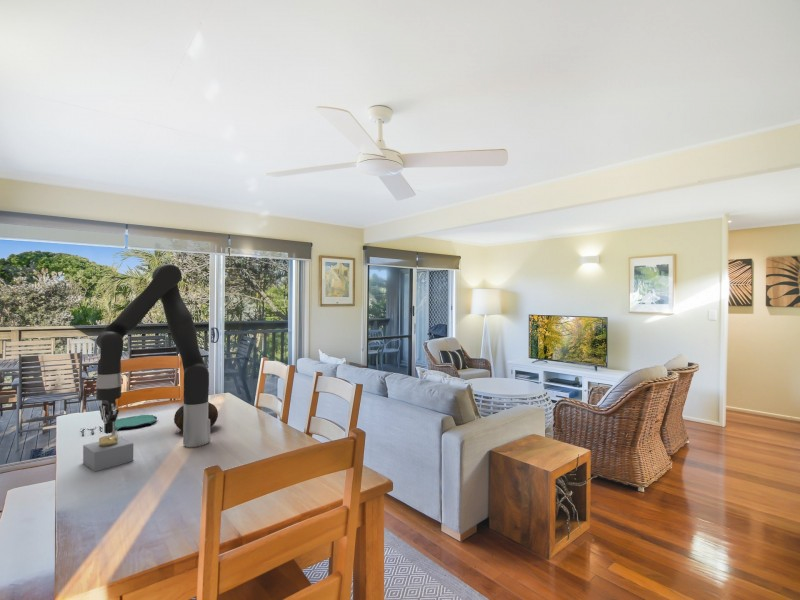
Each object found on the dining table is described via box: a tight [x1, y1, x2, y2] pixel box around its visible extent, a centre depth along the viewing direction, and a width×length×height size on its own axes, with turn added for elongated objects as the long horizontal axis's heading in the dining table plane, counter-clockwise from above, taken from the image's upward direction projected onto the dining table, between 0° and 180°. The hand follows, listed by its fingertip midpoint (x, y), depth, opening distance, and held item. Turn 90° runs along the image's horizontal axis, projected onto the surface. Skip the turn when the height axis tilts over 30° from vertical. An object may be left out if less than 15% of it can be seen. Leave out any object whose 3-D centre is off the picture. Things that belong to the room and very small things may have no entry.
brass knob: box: [98, 434, 119, 447], centre depth 149 cm, size 6×6×8 cm
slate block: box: [82, 436, 134, 472], centre depth 149 cm, size 12×12×6 cm
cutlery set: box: [81, 414, 158, 437], centre depth 192 cm, size 20×30×2 cm, turn 129°
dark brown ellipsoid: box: [173, 401, 219, 432], centre depth 187 cm, size 18×18×28 cm
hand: (108, 432), depth 149 cm, fingers closed
